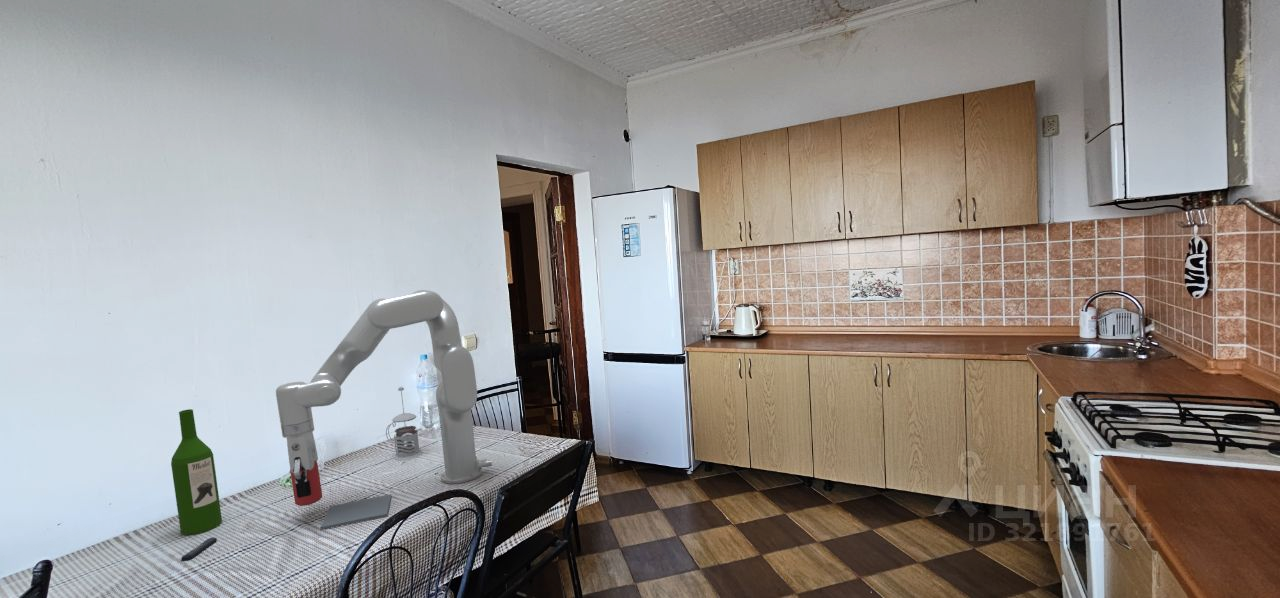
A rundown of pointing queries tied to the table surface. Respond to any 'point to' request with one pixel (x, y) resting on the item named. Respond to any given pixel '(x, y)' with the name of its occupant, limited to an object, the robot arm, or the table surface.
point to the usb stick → (199, 549)
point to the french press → (405, 437)
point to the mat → (357, 511)
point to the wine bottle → (195, 481)
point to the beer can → (314, 485)
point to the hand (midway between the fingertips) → (307, 490)
